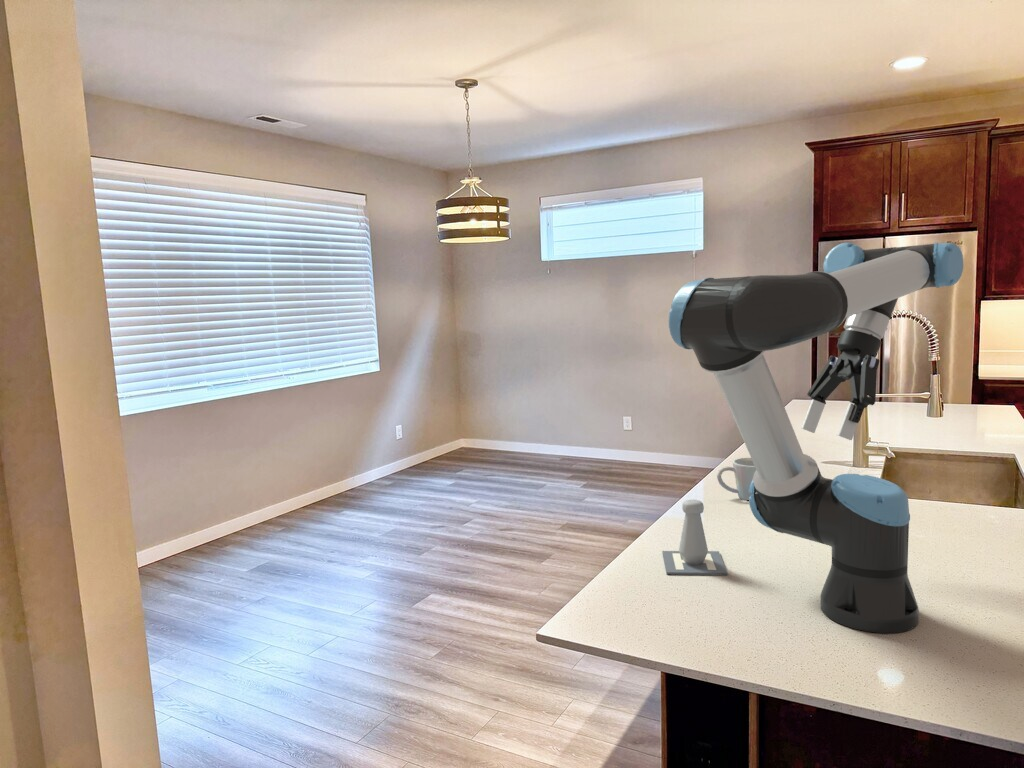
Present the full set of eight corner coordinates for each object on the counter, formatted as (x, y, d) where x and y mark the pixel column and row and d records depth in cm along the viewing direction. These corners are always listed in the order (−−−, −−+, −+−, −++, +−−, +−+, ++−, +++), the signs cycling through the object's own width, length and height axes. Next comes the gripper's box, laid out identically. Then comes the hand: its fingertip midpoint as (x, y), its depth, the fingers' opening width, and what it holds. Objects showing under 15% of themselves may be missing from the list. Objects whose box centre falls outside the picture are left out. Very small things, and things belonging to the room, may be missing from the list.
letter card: (727, 575, 139) (727, 572, 139) (666, 574, 141) (666, 572, 141) (718, 553, 151) (718, 551, 151) (662, 553, 153) (662, 550, 153)
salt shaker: (687, 567, 143) (686, 506, 141) (674, 558, 148) (673, 498, 147) (713, 564, 144) (712, 503, 142) (699, 554, 149) (698, 495, 148)
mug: (778, 502, 185) (778, 465, 184) (722, 504, 186) (722, 467, 184) (765, 491, 196) (765, 456, 194) (712, 493, 196) (711, 458, 195)
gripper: (920, 339, 127) (880, 448, 127) (843, 343, 152) (809, 434, 152) (884, 324, 126) (843, 434, 126) (813, 330, 151) (779, 422, 151)
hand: (825, 434), depth 139 cm, fingers open, 13 cm apart
